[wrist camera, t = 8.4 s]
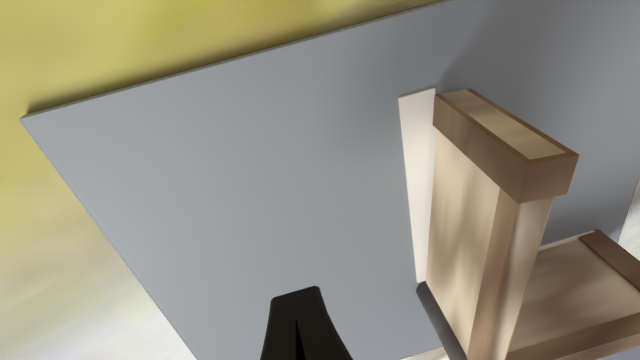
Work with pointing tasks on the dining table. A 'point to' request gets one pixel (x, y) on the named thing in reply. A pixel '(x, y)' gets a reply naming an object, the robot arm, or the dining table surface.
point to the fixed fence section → (567, 304)
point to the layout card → (340, 162)
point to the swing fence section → (488, 216)
